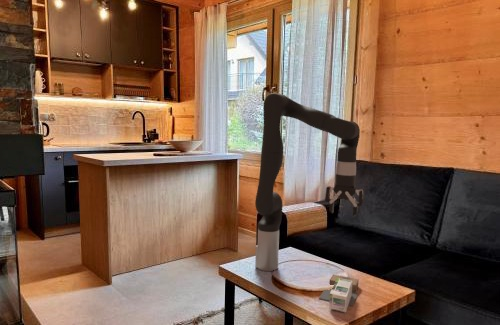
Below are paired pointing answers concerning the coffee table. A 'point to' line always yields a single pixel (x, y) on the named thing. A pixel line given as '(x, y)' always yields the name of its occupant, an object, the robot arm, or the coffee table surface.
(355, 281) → the step block
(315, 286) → the coffee table surface
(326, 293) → the mat
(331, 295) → the syrup box
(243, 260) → the coffee table surface
